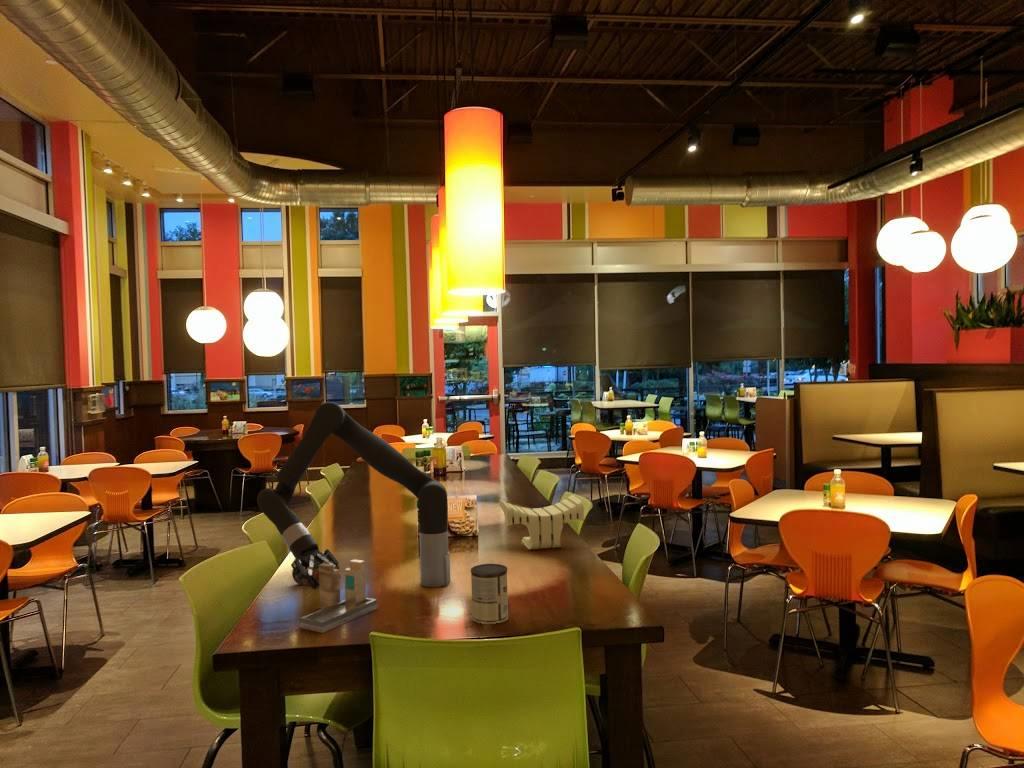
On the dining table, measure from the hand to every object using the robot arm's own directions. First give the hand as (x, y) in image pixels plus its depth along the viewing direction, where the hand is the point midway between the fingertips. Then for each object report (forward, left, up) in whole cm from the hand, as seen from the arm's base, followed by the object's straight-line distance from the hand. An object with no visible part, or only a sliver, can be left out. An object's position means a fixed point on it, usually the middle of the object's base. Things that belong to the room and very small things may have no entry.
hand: (328, 583), depth 218 cm
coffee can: (-50, +8, -7) cm, 51 cm away
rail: (-7, +9, -7) cm, 13 cm away
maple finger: (-1, 0, -7) cm, 7 cm away
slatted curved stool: (-60, -74, -7) cm, 96 cm away
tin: (+12, -24, -7) cm, 28 cm away
